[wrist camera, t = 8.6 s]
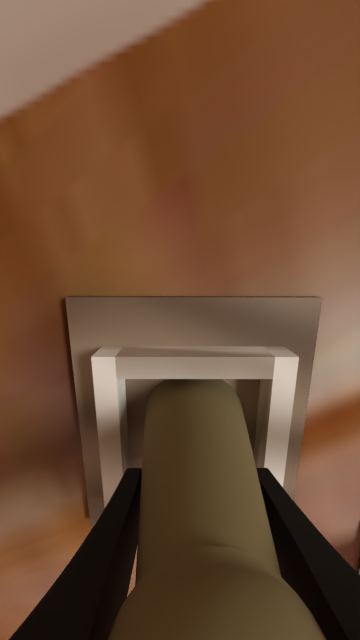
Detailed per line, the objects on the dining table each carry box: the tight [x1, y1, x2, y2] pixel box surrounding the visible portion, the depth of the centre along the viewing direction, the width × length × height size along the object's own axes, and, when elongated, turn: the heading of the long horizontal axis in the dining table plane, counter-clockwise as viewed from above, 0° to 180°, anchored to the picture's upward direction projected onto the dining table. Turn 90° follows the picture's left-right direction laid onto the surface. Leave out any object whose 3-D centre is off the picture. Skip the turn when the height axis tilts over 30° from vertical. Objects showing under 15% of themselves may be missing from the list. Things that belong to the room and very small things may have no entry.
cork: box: [107, 379, 327, 640], centre depth 8 cm, size 6×6×11 cm
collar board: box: [65, 296, 322, 526], centre depth 13 cm, size 16×14×2 cm
